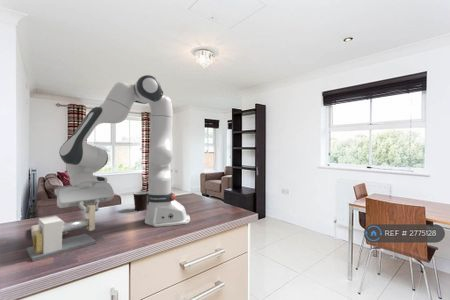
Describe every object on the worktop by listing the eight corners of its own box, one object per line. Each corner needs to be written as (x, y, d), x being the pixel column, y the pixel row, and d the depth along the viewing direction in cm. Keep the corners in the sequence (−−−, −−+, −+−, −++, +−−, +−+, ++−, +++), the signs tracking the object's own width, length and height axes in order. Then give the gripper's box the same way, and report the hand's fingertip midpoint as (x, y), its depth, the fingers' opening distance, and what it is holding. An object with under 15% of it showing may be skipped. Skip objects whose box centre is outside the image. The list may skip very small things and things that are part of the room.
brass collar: (38, 247, 78) (38, 229, 78) (42, 252, 74) (42, 234, 74) (32, 248, 77) (33, 231, 77) (36, 254, 73) (36, 235, 73)
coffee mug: (135, 207, 137) (135, 191, 137) (149, 207, 137) (150, 191, 137) (129, 212, 125) (129, 195, 125) (144, 212, 126) (144, 195, 126)
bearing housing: (85, 235, 92) (86, 209, 92) (95, 243, 84) (96, 214, 84) (26, 250, 78) (26, 219, 78) (32, 261, 70) (32, 227, 70)
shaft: (92, 227, 90) (92, 203, 90) (94, 229, 88) (95, 204, 88) (44, 239, 78) (44, 210, 78) (46, 241, 76) (46, 212, 76)
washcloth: (32, 243, 85) (32, 235, 85) (29, 230, 98) (29, 223, 98) (69, 235, 93) (69, 228, 93) (62, 224, 106) (62, 218, 106)
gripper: (54, 182, 85) (61, 212, 78) (110, 177, 100) (119, 202, 94) (51, 192, 87) (58, 222, 81) (106, 186, 103) (115, 210, 97)
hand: (91, 211), depth 88 cm, fingers closed on shaft, 2 cm apart
